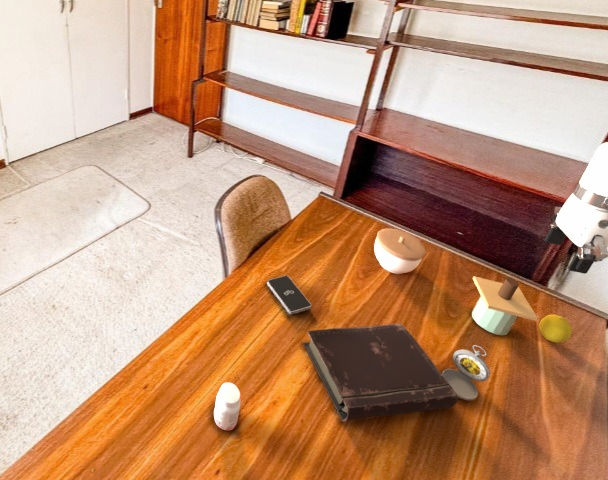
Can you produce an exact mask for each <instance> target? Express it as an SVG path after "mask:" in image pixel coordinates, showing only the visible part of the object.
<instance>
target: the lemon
mask: <svg viewBox="0 0 608 480" xmlns="http://www.w3.org/2000/svg"><path fill="white" fill-rule="evenodd" d="M538 330H539V333H540V334H541V335H542V337H544V338H545V340H546V341H549V342H552V343H555V344H562V343H563V344H564V343H565V342H567V341H568V340H569V339H570V338H571V337H572V334H573V328H572V325H571V323H570V322H569V321H568V320H567V319H566V318H565V317H563V316H561V315H558V314H547V315H546V316H544V317H543V318H542V319H540V321H539V323H538Z"/></svg>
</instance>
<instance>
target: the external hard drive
mask: <svg viewBox="0 0 608 480" xmlns="http://www.w3.org/2000/svg"><path fill="white" fill-rule="evenodd" d="M266 287H267V288H268V289H269V290H270V292H271V293H272V295H273V296H274V297H275V299H276V300H277V301H278V303H279V304H280V305H281V307H282V308H283V309H284V311H285V312H286V314H287V315H288V316H289V317H291V316H295V315H298V314H301V313H305V312H308V311H310V310H311V308H312V303H311V302H310V301H309V299H308V298H307V297H306V296H305V295H304V293H303V292H302V291H301V289H300V288H299V287H298V286H297V285H296V284H295V282H294V281H293V279H292V278H291V277H290V276H289V275H282V276H278V277H275V278H270V279H268V280H267V282H266Z"/></svg>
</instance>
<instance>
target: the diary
mask: <svg viewBox="0 0 608 480" xmlns="http://www.w3.org/2000/svg"><path fill="white" fill-rule="evenodd" d="M306 333H307V335H308V337H309V339H310V341H309V342H303V343H302V344H303V346H304V348H305V350H306V352H307V354H308V357H309V358H310V360H311V362H312V364H313V366H314V368H315V370H316V372H317V374H318V376H319V378H320V380H321V382H322V384H323V386H324V388H325V390H326V392H327V394H328V396H329V398H330V399H331V401H332V404H333V406H334V408H335V410H336V411H337V413H338V416H339V417H340V420H341V421H342V422H350V421H358V420H362V419H369V418H378V417H386V416H387V417H388V416H389V417H390V416H397V415H406V414H411V413H417V412H423V411H433V410H445V409H452V408H454V407H455V406H456V404H457V403H458V400H459V397H458V394H457V393H456V392H455V391H454V389H453V388H452V387H451V386H450V384H449V383H448V382H447V380H446V379H445V378H444V377H443V375H442V372H441V371H440V369H438V367H437V366H436V364H435V363H434V362H433V360H432V359H431V357H430V356H429V355H428V354H427V352H426V351H425V350H424V349H423V348H422V346H421V344H420V343H419V342H418V341H417V340H416V339H415V337H414V336H413V335H412V334H411V333H410V331H409V330H408V329H407V328H406V327H405V326H404V324H403V323H390V324H389V323H388V324H379V325H377V324H376V325H367V326H357V327H338V328H337V327H336V328H335V327H334V328H324V329H315V330H314V329H313V330H306Z"/></svg>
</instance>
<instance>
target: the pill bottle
mask: <svg viewBox="0 0 608 480" xmlns="http://www.w3.org/2000/svg"><path fill="white" fill-rule="evenodd" d="M241 402H242V401H241V391H240V390H239V388H238V386H236V385H235V383H232V382H224V383H222V384H221V386H220V388H219V390H218V392H217V395H216V398H215V405H214V410H213V419H214V423H215V424H216V425H217V426H218V427H219V428H220V429H221V430H224V431H232V430H233V429H234V428H235V427H236V426H237V423H238V420H239V415H240V410H241V405H242V404H241Z"/></svg>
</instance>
